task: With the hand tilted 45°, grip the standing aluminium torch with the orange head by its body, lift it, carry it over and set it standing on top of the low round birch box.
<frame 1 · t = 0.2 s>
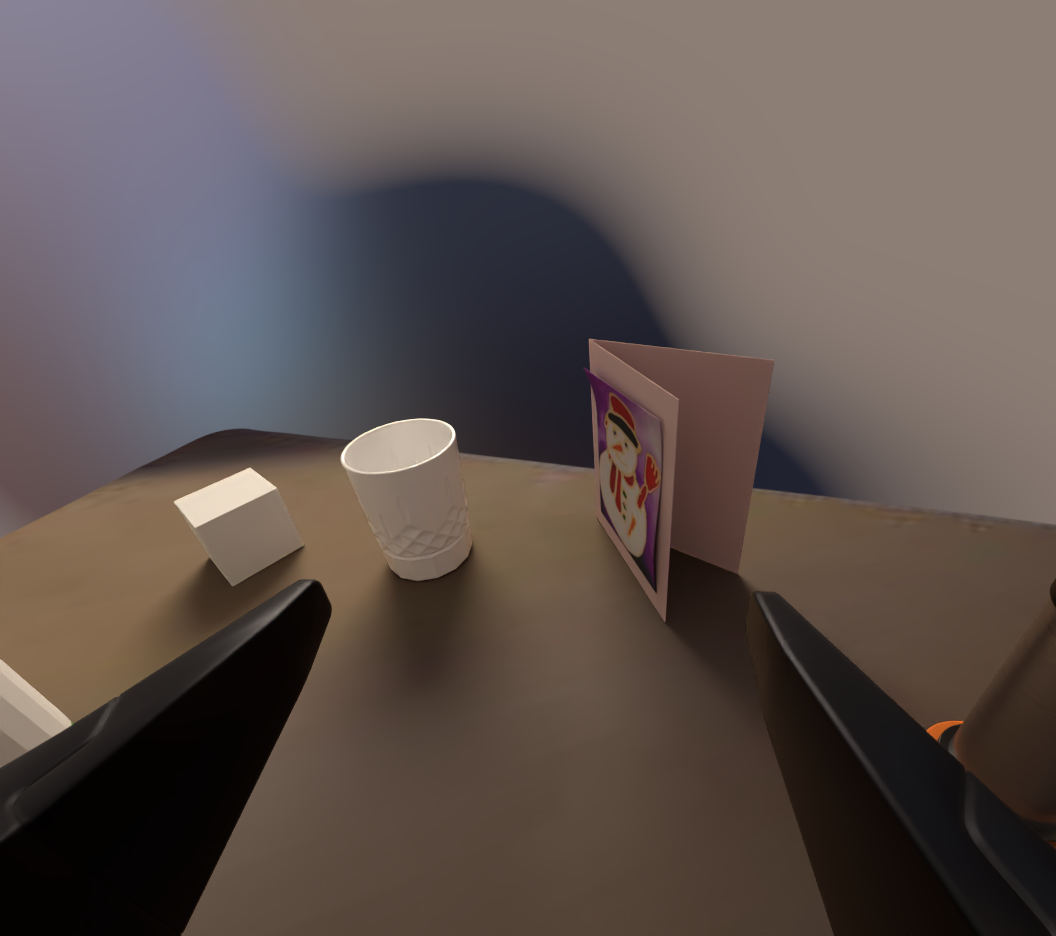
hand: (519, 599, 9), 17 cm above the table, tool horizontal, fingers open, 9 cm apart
white cup: (431, 553, 37), on the table
greeting card: (661, 554, 34), on the table
cream cube: (257, 552, 39), on the table
torch: (964, 825, 18), on the table
wine bottle: (20, 828, 22), on the table
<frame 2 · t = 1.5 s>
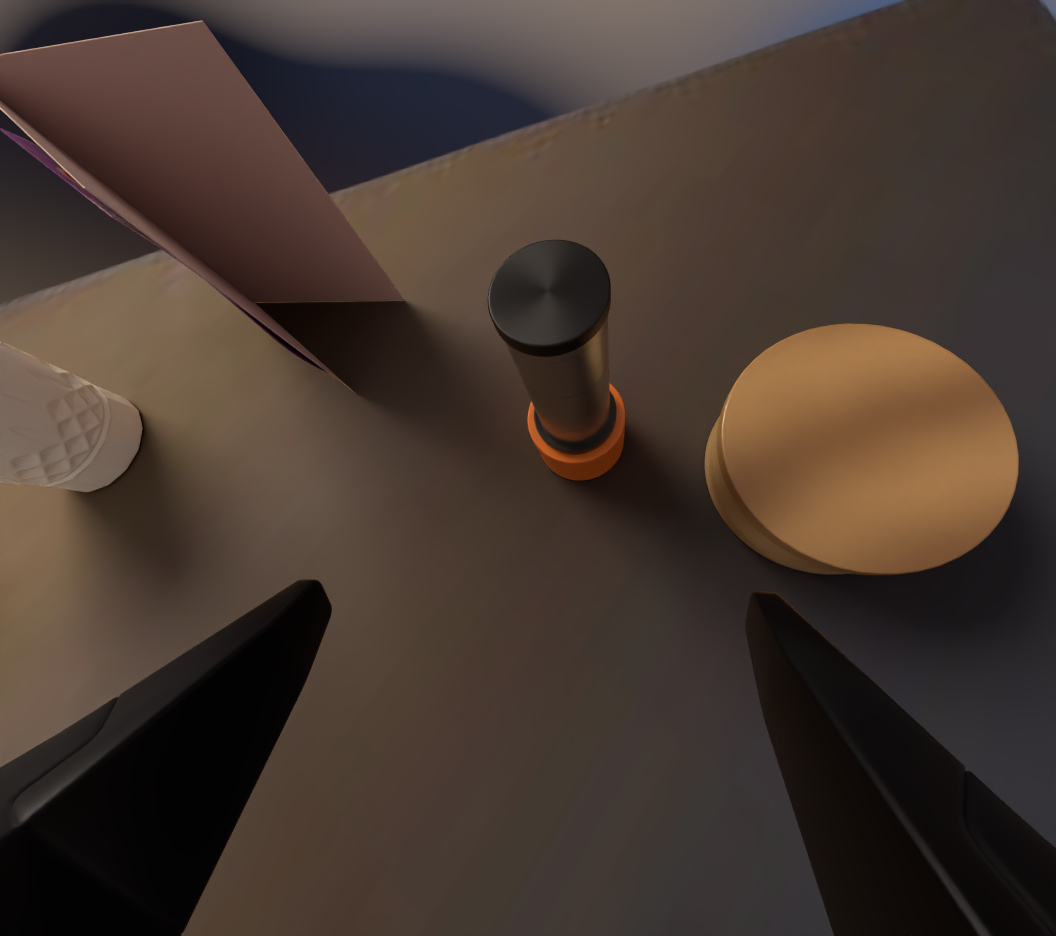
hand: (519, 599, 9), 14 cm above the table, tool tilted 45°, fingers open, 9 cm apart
white cup: (104, 444, 31), on the table
greeting card: (332, 315, 30), on the table
birch box: (813, 468, 22), on the table
torch: (580, 439, 24), on the table
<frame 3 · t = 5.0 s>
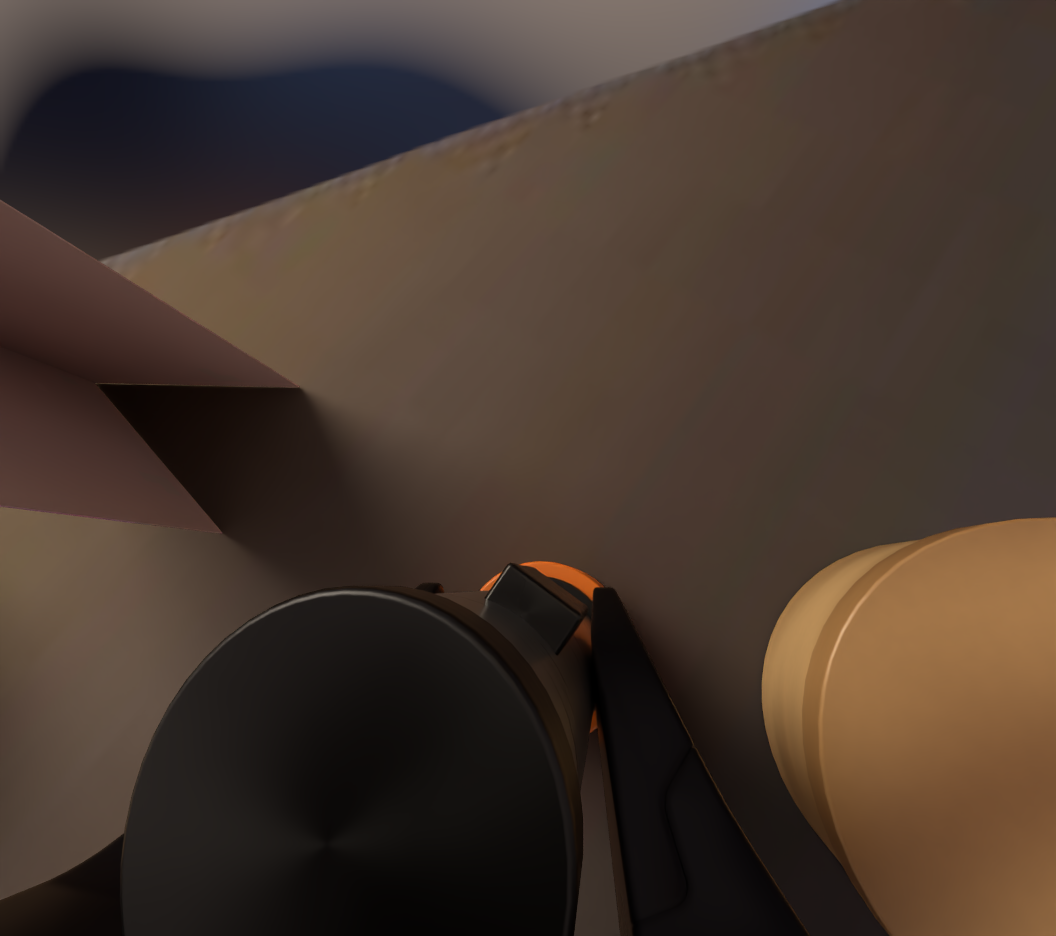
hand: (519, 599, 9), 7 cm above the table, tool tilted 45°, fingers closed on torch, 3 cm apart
greeting card: (200, 405, 21), on the table
birch box: (951, 720, 13), on the table
torch: (556, 635, 15), on the table, touching gripper
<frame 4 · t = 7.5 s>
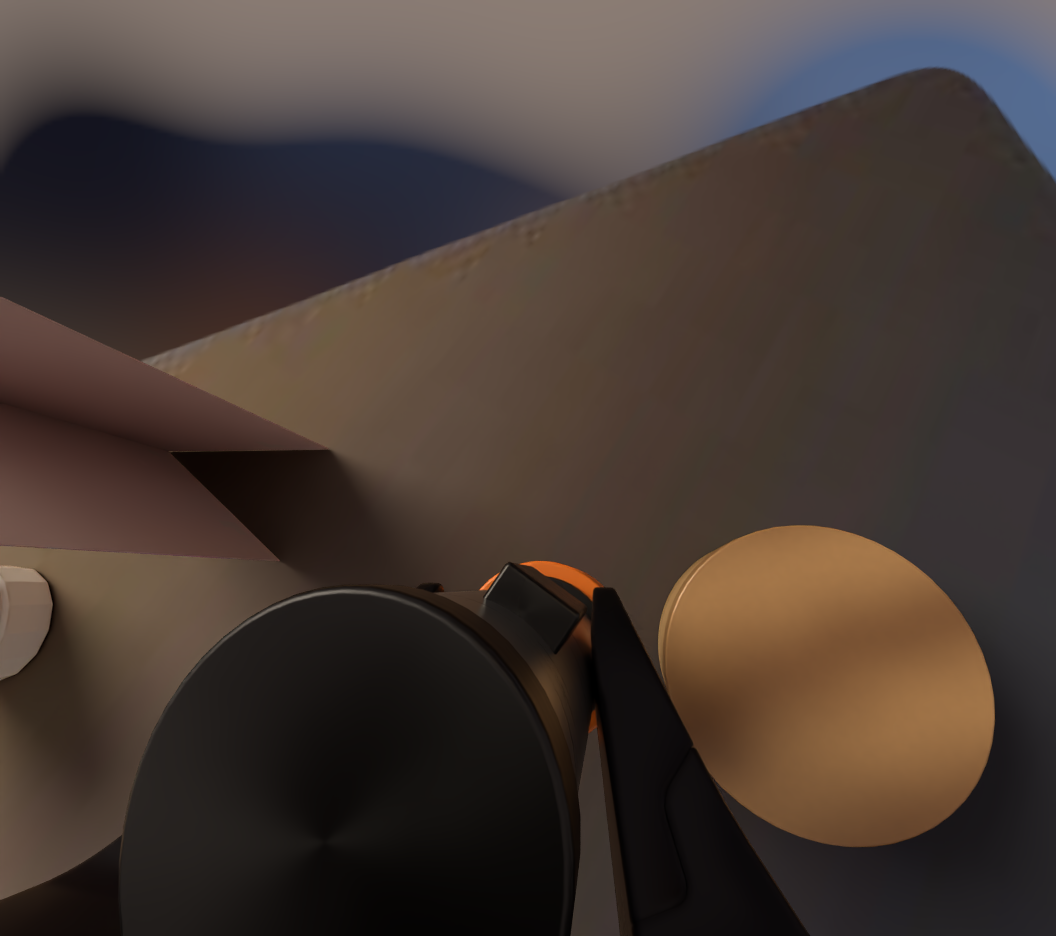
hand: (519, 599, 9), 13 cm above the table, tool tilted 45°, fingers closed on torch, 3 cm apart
white cup: (13, 622, 28), on the table
greeting card: (253, 465, 28), on the table
birch box: (775, 653, 20), on the table
torch: (556, 634, 15), point 7 cm above the table, touching gripper
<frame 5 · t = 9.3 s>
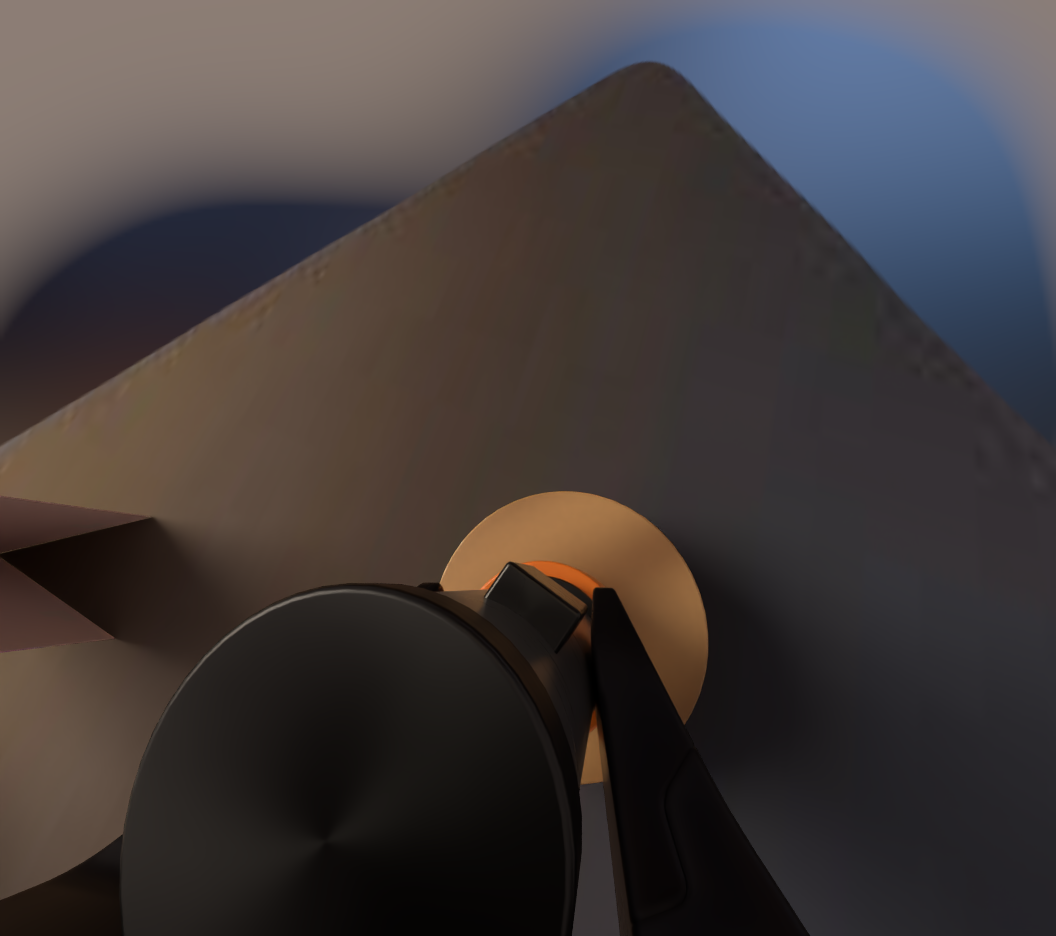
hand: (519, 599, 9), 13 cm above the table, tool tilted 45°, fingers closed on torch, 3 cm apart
greeting card: (81, 549, 27), on the table
birch box: (572, 617, 21), on the table
torch: (556, 634, 15), point 6 cm above the table, touching gripper
when the fingers open (11 cm above the table, at t = 10.2 s): torch stays where it is, resting on birch box.
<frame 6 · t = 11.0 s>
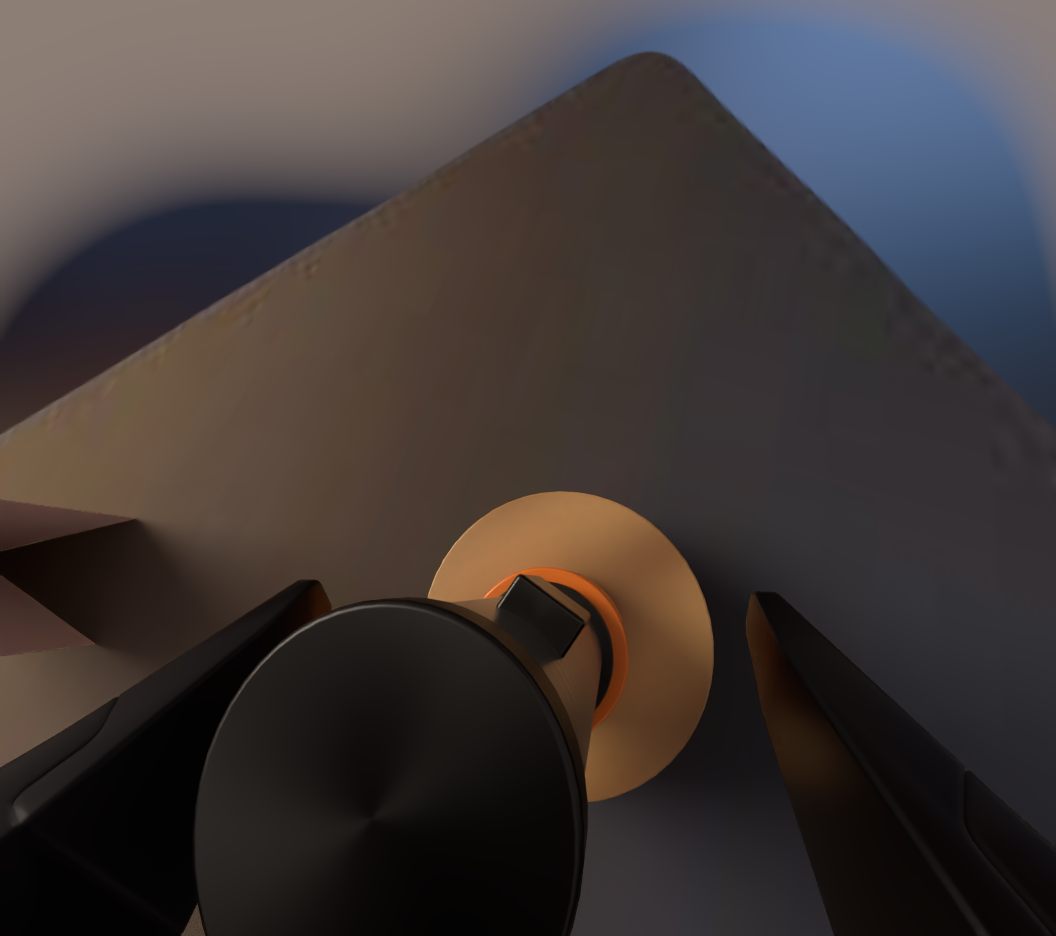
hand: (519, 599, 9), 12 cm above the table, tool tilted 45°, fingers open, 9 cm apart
greeting card: (63, 552, 26), on the table
birch box: (570, 623, 20), on the table
torch: (558, 637, 16), point 4 cm above the table, touching birch box
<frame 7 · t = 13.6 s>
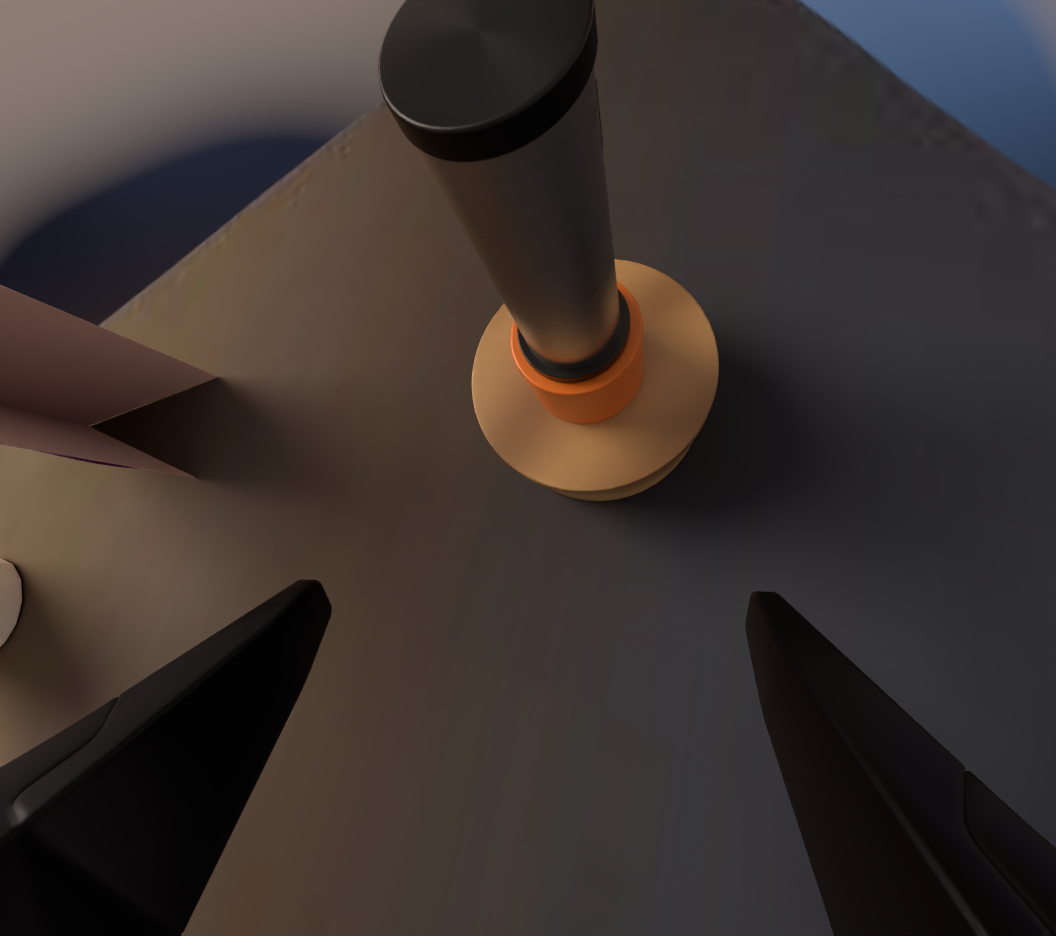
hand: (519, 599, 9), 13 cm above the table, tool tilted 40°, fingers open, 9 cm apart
greeting card: (160, 413, 31), on the table
birch box: (597, 404, 23), on the table
torch: (586, 371, 19), point 4 cm above the table, touching birch box
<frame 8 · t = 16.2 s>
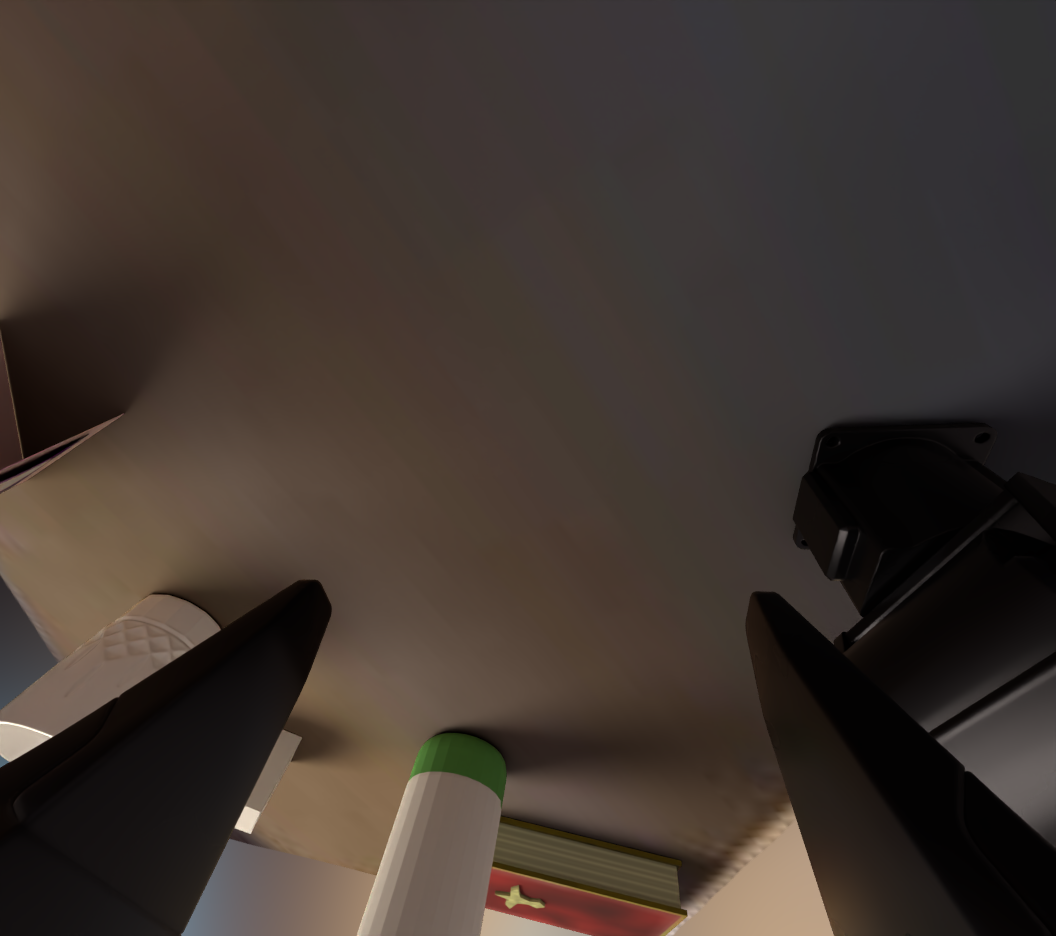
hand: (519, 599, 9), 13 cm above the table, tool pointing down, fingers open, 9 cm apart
hardcover book: (562, 854, 47), on the table
white cup: (185, 621, 35), on the table
greeting card: (32, 408, 26), on the table
cream cube: (267, 736, 43), on the table
wine bottle: (465, 750, 39), on the table
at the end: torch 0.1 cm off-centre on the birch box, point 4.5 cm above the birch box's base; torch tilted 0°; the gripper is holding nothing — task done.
